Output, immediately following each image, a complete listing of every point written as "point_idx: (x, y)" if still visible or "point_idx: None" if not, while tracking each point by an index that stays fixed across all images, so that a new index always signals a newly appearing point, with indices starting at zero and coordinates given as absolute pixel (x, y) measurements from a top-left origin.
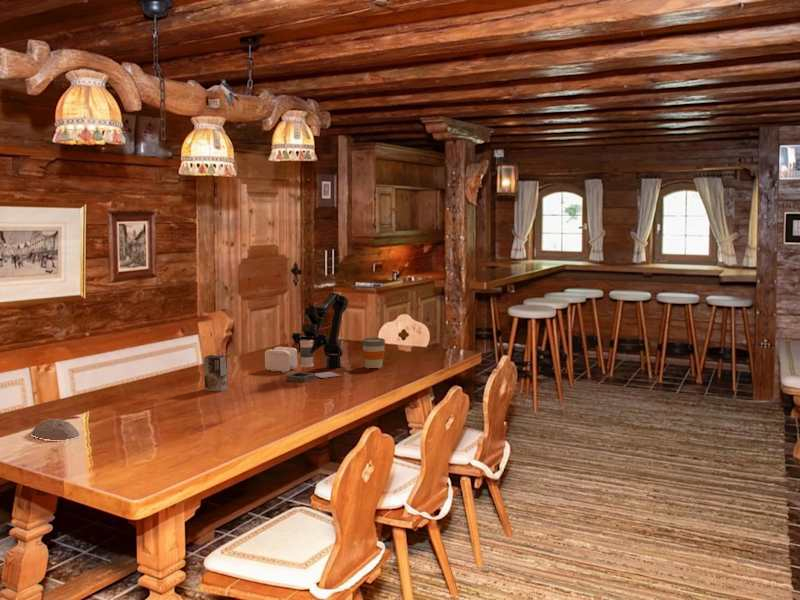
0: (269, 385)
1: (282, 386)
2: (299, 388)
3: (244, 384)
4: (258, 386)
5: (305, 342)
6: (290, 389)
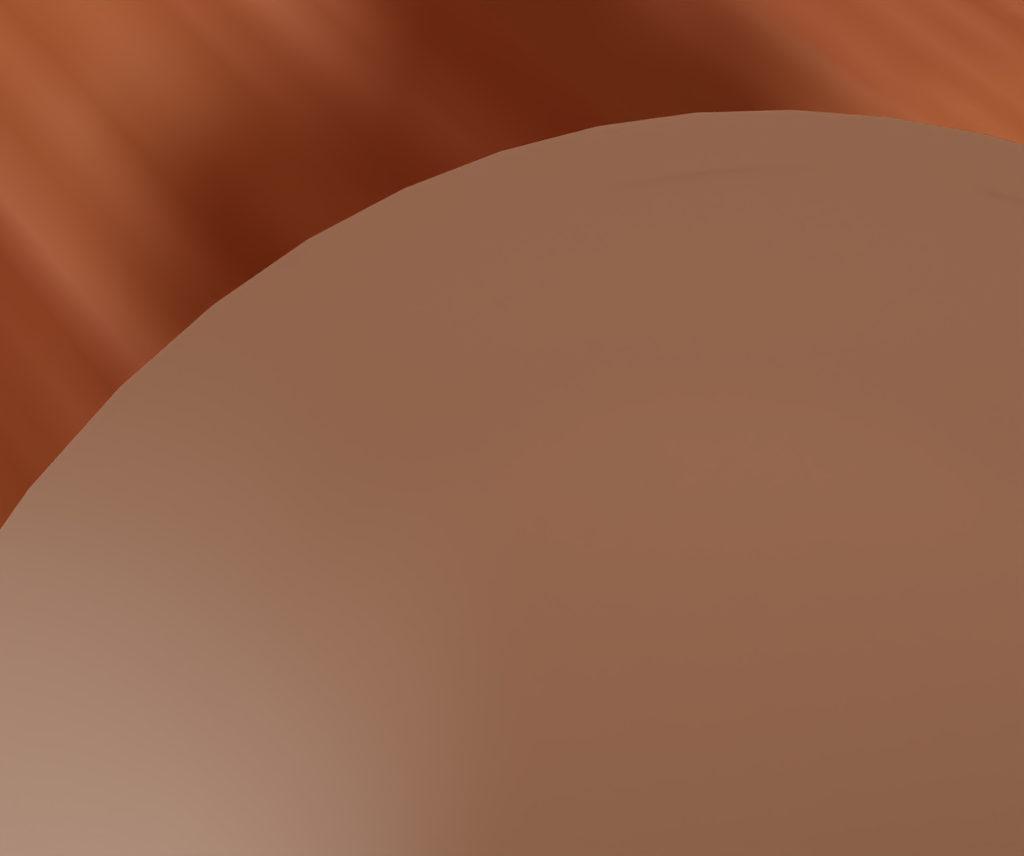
0: (652, 113)
1: (432, 145)
2: (84, 158)
3: (975, 22)
4: (726, 13)
5: (404, 263)
6: (179, 57)
